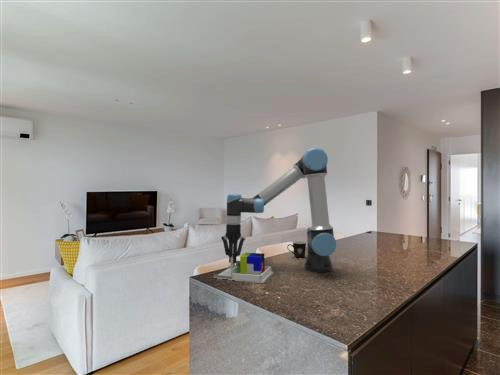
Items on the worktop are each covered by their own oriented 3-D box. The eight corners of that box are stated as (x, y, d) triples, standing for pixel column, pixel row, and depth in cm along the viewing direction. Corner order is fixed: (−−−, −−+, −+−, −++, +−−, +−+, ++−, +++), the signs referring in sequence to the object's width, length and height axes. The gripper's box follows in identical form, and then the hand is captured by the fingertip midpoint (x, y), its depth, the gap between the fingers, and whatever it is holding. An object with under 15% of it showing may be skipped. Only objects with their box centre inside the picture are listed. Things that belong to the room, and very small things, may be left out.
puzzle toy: (260, 278, 137) (259, 257, 137) (240, 277, 139) (240, 256, 140) (264, 272, 146) (264, 253, 147) (246, 271, 149) (245, 252, 149)
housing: (273, 272, 149) (273, 266, 149) (263, 283, 131) (263, 276, 131) (229, 269, 157) (229, 263, 158) (213, 278, 140) (213, 271, 140)
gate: (246, 269, 153) (246, 258, 153) (234, 277, 137) (234, 265, 137) (242, 268, 154) (241, 257, 154) (229, 277, 138) (229, 264, 138)
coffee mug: (308, 257, 186) (308, 242, 186) (303, 260, 179) (303, 244, 179) (292, 255, 192) (291, 240, 192) (286, 258, 185) (286, 242, 185)
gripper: (247, 223, 149) (246, 268, 148) (225, 222, 153) (224, 266, 152) (242, 225, 142) (241, 272, 141) (219, 223, 146) (218, 269, 145)
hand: (232, 269), depth 147 cm, fingers closed
